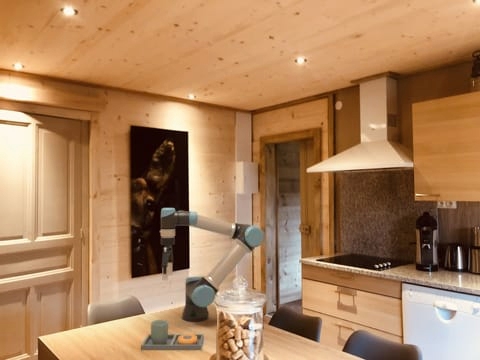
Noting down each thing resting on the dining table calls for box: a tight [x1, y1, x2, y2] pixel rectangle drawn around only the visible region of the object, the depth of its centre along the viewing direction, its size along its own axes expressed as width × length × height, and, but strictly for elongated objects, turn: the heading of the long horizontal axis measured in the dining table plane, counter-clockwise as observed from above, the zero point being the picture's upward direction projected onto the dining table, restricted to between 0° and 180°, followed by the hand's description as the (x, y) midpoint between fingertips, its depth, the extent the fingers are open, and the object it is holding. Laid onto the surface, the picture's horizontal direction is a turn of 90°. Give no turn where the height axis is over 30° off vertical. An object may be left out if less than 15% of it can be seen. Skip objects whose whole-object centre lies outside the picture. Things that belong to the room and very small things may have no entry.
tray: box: [140, 333, 205, 351], centre depth 181 cm, size 27×14×2 cm, turn 90°
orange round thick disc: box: [178, 333, 197, 345], centre depth 181 cm, size 9×9×3 cm
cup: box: [150, 319, 169, 345], centre depth 181 cm, size 8×8×10 cm
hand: (167, 277), depth 205 cm, fingers open, 13 cm apart
